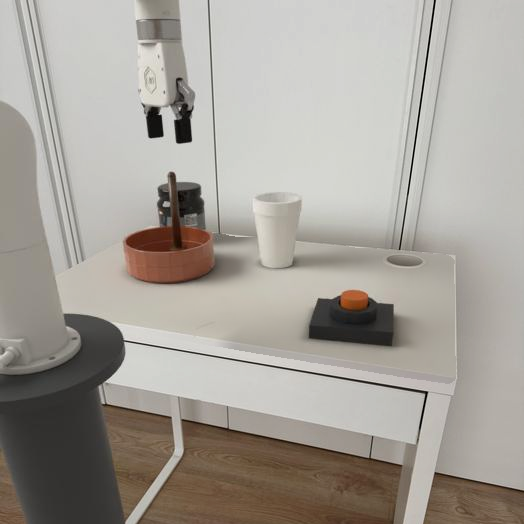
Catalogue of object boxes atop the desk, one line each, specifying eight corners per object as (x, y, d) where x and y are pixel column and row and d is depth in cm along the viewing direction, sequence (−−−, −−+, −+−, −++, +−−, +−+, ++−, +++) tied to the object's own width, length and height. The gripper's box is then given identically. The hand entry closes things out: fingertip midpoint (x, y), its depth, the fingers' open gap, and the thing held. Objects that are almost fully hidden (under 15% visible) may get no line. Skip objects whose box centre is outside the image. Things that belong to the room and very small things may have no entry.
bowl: (198, 287, 94) (196, 255, 91) (111, 280, 97) (106, 249, 94) (225, 256, 109) (223, 228, 106) (148, 251, 112) (145, 223, 109)
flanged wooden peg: (183, 256, 104) (176, 173, 96) (167, 255, 105) (158, 173, 97) (190, 250, 107) (183, 170, 99) (173, 249, 108) (165, 169, 100)
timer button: (366, 312, 76) (367, 301, 75) (339, 309, 77) (339, 299, 76) (367, 301, 79) (369, 290, 78) (341, 299, 80) (342, 288, 79)
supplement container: (175, 231, 125) (170, 179, 119) (214, 235, 122) (211, 182, 116) (151, 243, 116) (145, 189, 111) (193, 248, 113) (189, 192, 107)
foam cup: (281, 252, 111) (281, 190, 104) (309, 263, 104) (312, 198, 98) (244, 261, 106) (242, 196, 99) (272, 274, 99) (272, 206, 93)
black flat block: (391, 346, 74) (395, 321, 72) (308, 338, 77) (309, 313, 75) (392, 316, 83) (395, 293, 81) (317, 310, 85) (318, 287, 83)
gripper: (116, 35, 92) (129, 137, 101) (167, 31, 81) (178, 147, 90) (152, 35, 97) (162, 134, 105) (206, 32, 85) (213, 142, 94)
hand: (169, 140), depth 97 cm, fingers open, 9 cm apart
